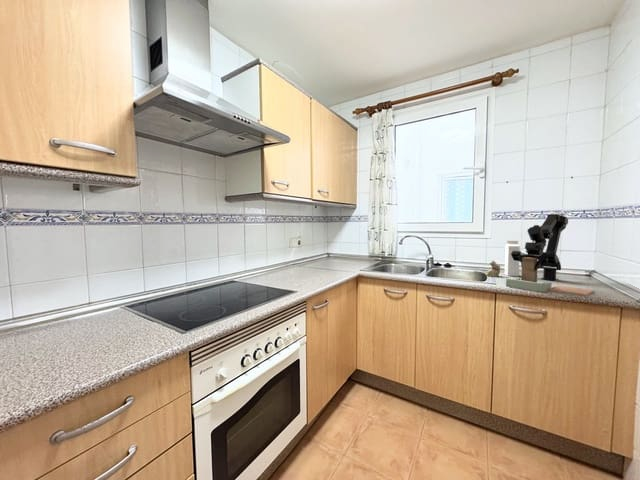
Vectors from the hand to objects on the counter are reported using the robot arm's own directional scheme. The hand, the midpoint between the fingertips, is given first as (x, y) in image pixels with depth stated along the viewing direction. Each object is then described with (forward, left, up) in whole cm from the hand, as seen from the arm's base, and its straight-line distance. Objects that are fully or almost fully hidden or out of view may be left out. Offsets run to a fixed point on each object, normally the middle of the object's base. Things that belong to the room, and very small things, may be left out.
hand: (528, 269), depth 136 cm
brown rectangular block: (-1, 0, -7) cm, 7 cm away
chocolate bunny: (-17, -24, -9) cm, 31 cm away
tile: (-7, +15, -9) cm, 19 cm away
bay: (-1, 0, -9) cm, 9 cm away
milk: (-28, -18, -9) cm, 35 cm away
